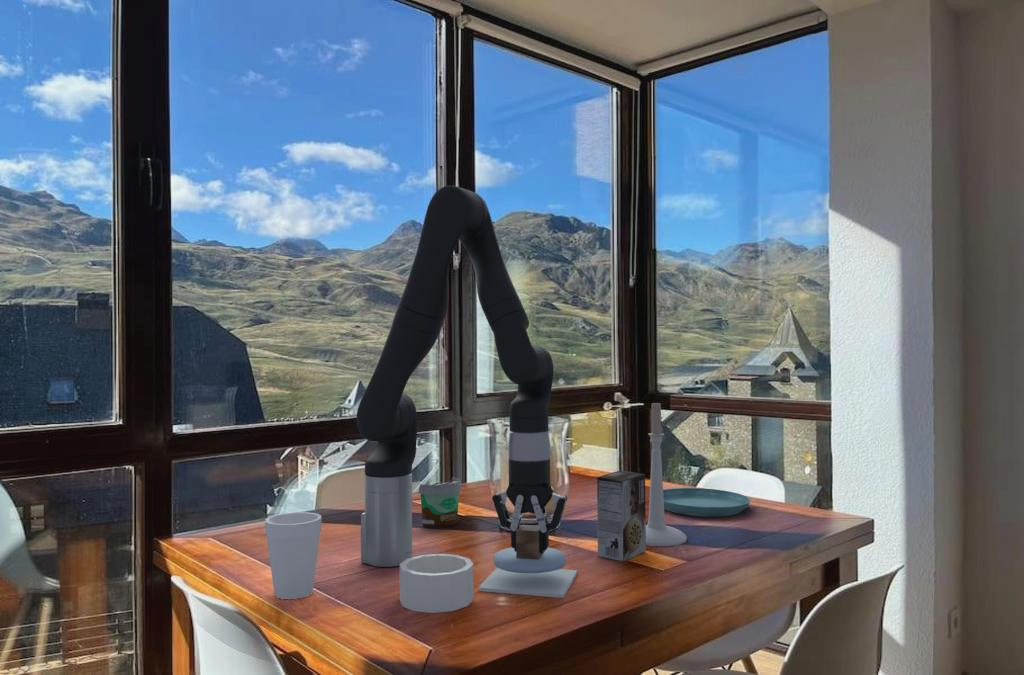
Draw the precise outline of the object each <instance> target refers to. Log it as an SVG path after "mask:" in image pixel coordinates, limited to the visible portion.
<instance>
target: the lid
mask: <svg viewBox="0 0 1024 675" xmlns="http://www.w3.org/2000/svg"><path fill="white" fill-rule="evenodd" d="M539 533H540V527H539V525H533V524H531V525H530V524H520V527H519V528H518V529H517V530H516V552H515V551H514V548H512V547H507V548H504V549H500V550H498V551H497V552H495V553H494V554H493V565H494V566H495V567H496V568H499V569H502V570H505V571H509V572H515V573H545V572H551V571H555V570H558V569H563V568H564V567H565V566H566V565H567V555H566V553H565V552H563V551H562V550H559V549H558V548H552V547H548V548H547V550H545V552H544V553H540V552H539Z"/></svg>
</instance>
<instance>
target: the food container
mask: <svg viewBox="0 0 1024 675" xmlns="http://www.w3.org/2000/svg"><path fill="white" fill-rule="evenodd" d="M462 490H463V485H462V482H461V479H460V478H457V477H453V476H452V477H451V480H449V481H446V482H435V483H433V484H421V483H420V484H419V487H418V494H420V503H421V504H420V505H421V517H422V518H421V519H422V527H424V528H447V527H452V526H455V525H457V523H458V512H459V511H458V510H459V500H460V492H461V491H462Z"/></svg>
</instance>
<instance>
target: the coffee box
mask: <svg viewBox="0 0 1024 675" xmlns="http://www.w3.org/2000/svg"><path fill="white" fill-rule="evenodd" d="M596 480H597V481H596V482H597V485H596V486H597V491H596V492H597V493H596V494H597V504H596V505H597V510H596V511H597V556H598V557H601V558H604V559H605V558H606V559H610V560H614V561H619V562H626V561H628V560H629V559H631V558H634V557H636V556H638V555H640V554H643V553H645V552H646V551H647V545H646V525H647V523H646V522H647V521H646V518H647V517H646V514H647V513H646V474H645V473H640V472H639V473H637V472H633V471H628V470H626V471H625V470H617V471H614V472H610V473H606V474H603V475H600V476H597V477H596Z"/></svg>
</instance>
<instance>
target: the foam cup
mask: <svg viewBox="0 0 1024 675" xmlns="http://www.w3.org/2000/svg"><path fill="white" fill-rule="evenodd" d="M264 530H265V532H264V535H265V537H266V541H267V543H266V544H267V548H268V549H267V550H268V555H269V562H270V563H269V564H270V571H271V579H272V586H273V592H274V597H275V596H277V597H278V598H283V599H295V600H298V599H297V598H301V599H303V598H302V597H305V596H307V595H310V594H311V593H312V594H313V590H314V585H315V577H316V567H317V561H318V560H317V559H318V552H319V544H320V535H321V533H322V515H321V514H319V513H315V512H307V511H301V512H299V511H298V512H297V511H295V512H293V511H292V512H283V513H278V514H274V515H271V516H269V517H267V518H265V520H264ZM312 594H311V595H312ZM311 595H310V596H311ZM277 597H276V598H277ZM278 598H277V599H278ZM305 598H306V597H305ZM283 599H282V600H283Z"/></svg>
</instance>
